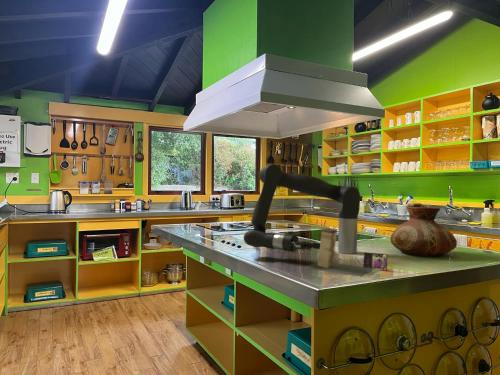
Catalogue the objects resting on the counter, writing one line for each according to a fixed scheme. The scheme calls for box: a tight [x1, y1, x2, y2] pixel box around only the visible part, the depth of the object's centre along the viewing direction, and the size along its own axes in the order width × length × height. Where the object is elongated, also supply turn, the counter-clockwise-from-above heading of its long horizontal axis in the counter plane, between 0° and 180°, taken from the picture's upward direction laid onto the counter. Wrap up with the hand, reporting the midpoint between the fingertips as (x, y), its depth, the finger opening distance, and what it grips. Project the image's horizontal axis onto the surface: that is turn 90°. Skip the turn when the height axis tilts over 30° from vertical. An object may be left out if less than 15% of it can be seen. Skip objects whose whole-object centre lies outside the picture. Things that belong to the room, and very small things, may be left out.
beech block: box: [317, 227, 338, 268], centre depth 153 cm, size 6×4×15 cm, turn 146°
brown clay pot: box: [389, 202, 458, 258], centre depth 189 cm, size 30×30×25 cm
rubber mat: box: [303, 261, 374, 277], centre depth 150 cm, size 16×24×1 cm
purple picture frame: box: [362, 252, 388, 272], centre depth 153 cm, size 7×5×9 cm
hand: (322, 246), depth 154 cm, fingers closed
